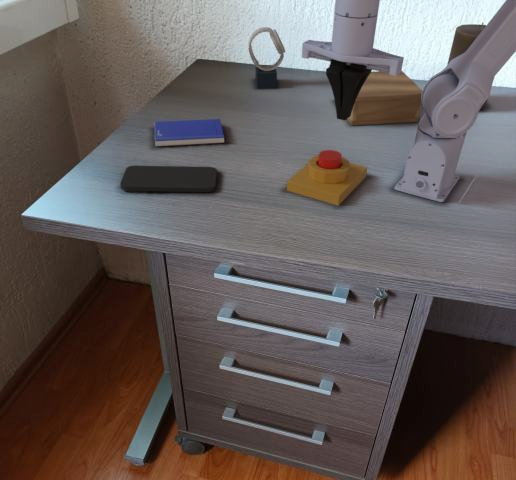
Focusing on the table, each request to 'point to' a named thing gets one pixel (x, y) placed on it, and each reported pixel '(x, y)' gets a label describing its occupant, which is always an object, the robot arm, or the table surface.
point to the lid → (388, 87)
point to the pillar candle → (465, 42)
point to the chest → (385, 111)
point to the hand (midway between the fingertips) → (343, 117)
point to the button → (329, 159)
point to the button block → (327, 181)
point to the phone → (169, 179)
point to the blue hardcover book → (188, 132)
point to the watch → (267, 73)
